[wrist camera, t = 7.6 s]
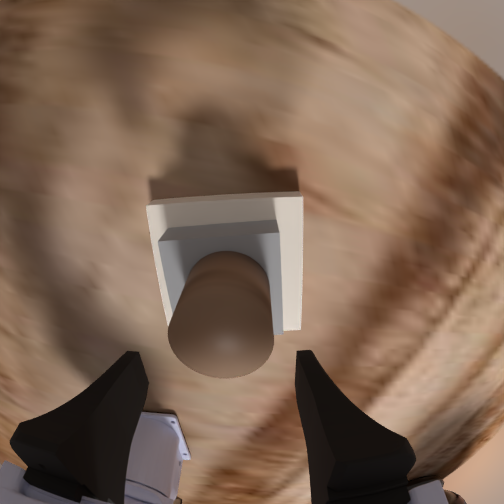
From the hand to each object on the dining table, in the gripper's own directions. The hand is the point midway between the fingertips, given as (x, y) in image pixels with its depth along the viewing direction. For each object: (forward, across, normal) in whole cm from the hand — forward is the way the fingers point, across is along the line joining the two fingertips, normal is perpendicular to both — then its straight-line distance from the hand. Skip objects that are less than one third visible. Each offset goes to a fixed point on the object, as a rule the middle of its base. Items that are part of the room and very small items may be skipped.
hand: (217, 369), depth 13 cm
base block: (+11, 0, -1) cm, 11 cm away
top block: (+9, 0, -1) cm, 9 cm away
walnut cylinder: (+6, 0, -1) cm, 6 cm away
